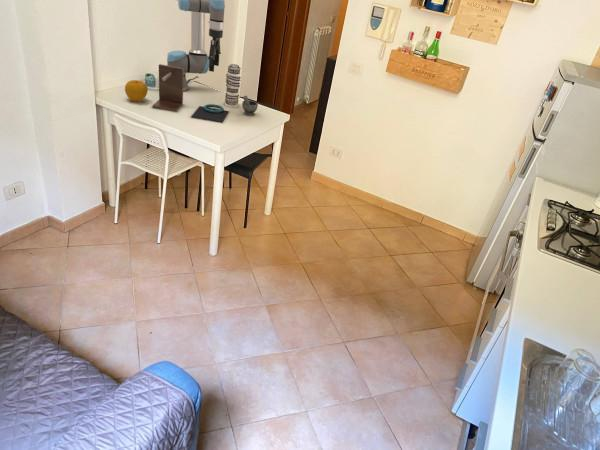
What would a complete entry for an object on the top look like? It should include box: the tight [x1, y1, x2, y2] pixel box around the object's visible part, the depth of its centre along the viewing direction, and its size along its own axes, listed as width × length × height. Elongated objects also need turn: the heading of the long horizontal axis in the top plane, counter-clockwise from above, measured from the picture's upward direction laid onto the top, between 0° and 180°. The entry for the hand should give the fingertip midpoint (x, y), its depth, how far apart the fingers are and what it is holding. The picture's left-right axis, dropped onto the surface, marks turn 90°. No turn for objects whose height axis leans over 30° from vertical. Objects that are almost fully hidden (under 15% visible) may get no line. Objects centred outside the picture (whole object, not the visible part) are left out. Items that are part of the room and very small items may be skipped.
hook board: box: [152, 63, 184, 113], centre depth 252 cm, size 15×14×22 cm
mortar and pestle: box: [241, 95, 259, 116], centre depth 267 cm, size 11×9×12 cm
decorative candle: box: [224, 63, 242, 108], centre depth 273 cm, size 9×9×25 cm
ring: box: [203, 103, 225, 113], centre depth 263 cm, size 2×12×12 cm
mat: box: [190, 105, 229, 123], centre depth 258 cm, size 20×18×1 cm
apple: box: [124, 79, 149, 103], centre depth 255 cm, size 13×13×11 cm
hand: (213, 68), depth 250 cm, fingers open, 13 cm apart
